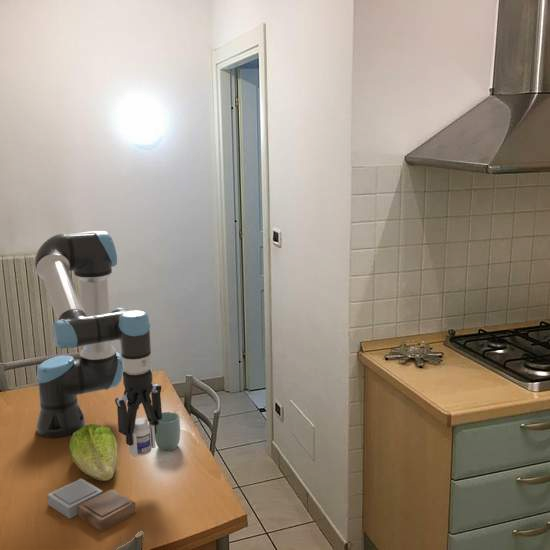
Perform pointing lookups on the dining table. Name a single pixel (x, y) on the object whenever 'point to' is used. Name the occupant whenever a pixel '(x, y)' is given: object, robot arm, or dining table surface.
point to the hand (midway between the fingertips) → (142, 450)
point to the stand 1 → (72, 497)
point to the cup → (168, 431)
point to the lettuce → (94, 451)
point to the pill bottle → (143, 436)
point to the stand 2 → (106, 510)
